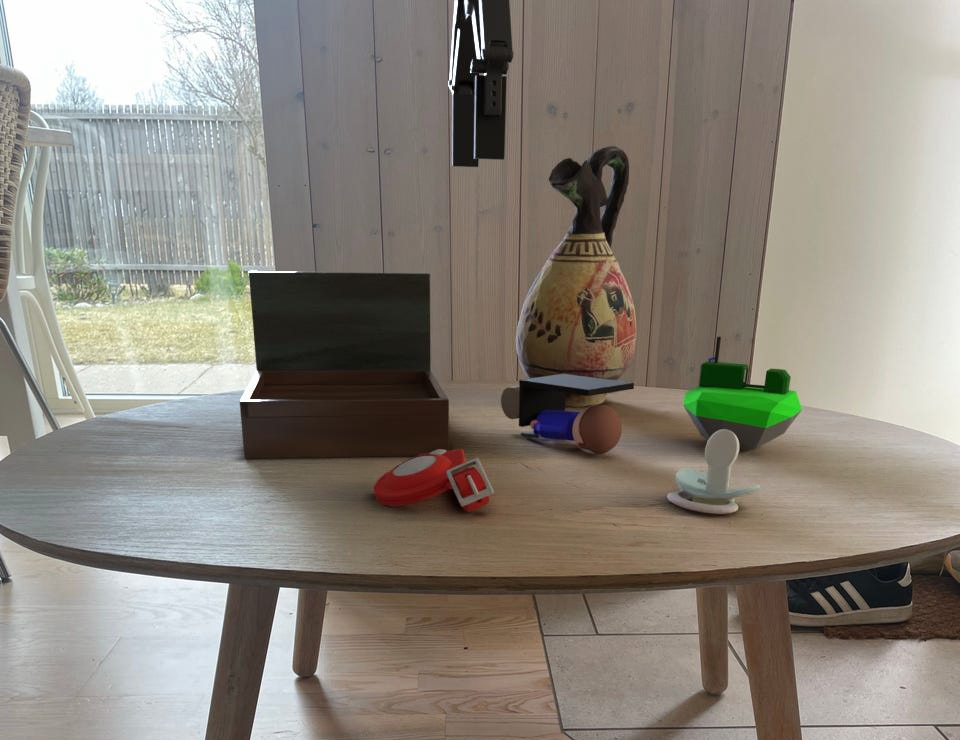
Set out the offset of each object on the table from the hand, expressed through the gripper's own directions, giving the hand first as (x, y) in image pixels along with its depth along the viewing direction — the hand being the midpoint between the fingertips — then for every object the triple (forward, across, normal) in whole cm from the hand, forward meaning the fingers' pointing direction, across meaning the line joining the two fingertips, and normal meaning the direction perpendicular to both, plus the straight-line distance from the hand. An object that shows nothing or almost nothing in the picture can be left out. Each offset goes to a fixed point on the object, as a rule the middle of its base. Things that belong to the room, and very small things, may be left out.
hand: (476, 163), depth 90 cm
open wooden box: (+27, +1, +14) cm, 30 cm away
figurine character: (+27, -5, -9) cm, 29 cm away
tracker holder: (+27, -26, +8) cm, 38 cm away
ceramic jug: (+27, +21, -18) cm, 38 cm away
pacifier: (+27, -30, -15) cm, 43 cm away
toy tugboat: (+27, -9, -27) cm, 39 cm away
